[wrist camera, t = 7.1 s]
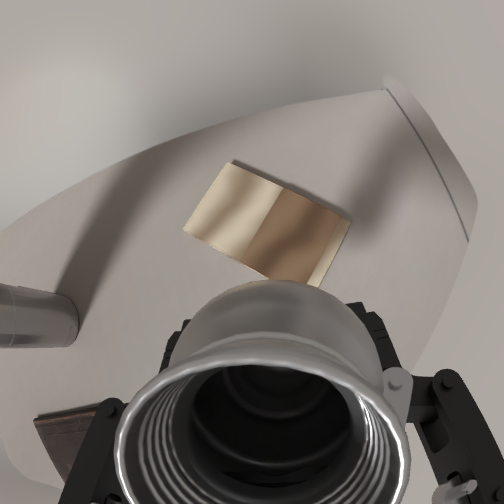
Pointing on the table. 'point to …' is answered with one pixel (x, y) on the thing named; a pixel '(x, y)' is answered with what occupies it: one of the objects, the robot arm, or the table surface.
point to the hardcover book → (64, 437)
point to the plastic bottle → (265, 407)
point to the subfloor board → (267, 227)
